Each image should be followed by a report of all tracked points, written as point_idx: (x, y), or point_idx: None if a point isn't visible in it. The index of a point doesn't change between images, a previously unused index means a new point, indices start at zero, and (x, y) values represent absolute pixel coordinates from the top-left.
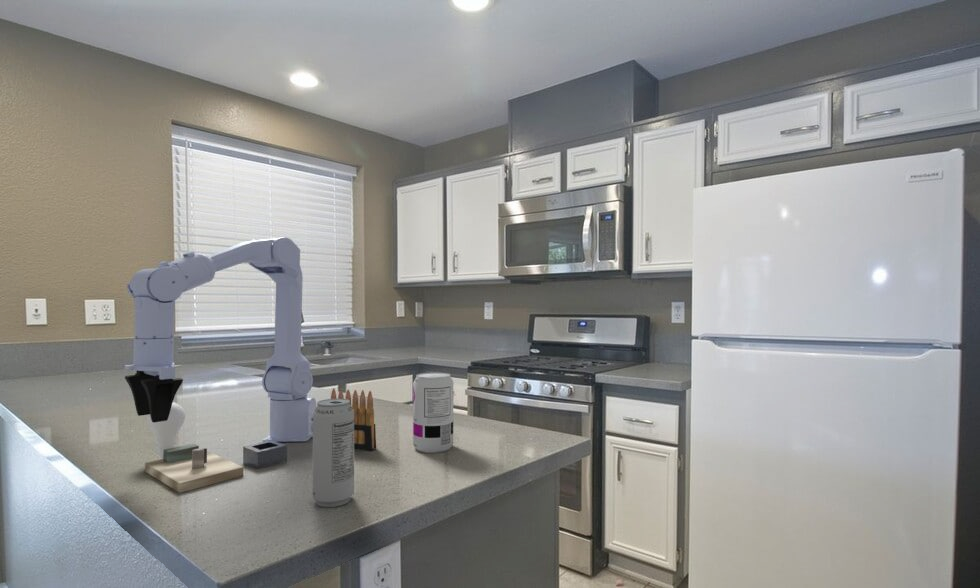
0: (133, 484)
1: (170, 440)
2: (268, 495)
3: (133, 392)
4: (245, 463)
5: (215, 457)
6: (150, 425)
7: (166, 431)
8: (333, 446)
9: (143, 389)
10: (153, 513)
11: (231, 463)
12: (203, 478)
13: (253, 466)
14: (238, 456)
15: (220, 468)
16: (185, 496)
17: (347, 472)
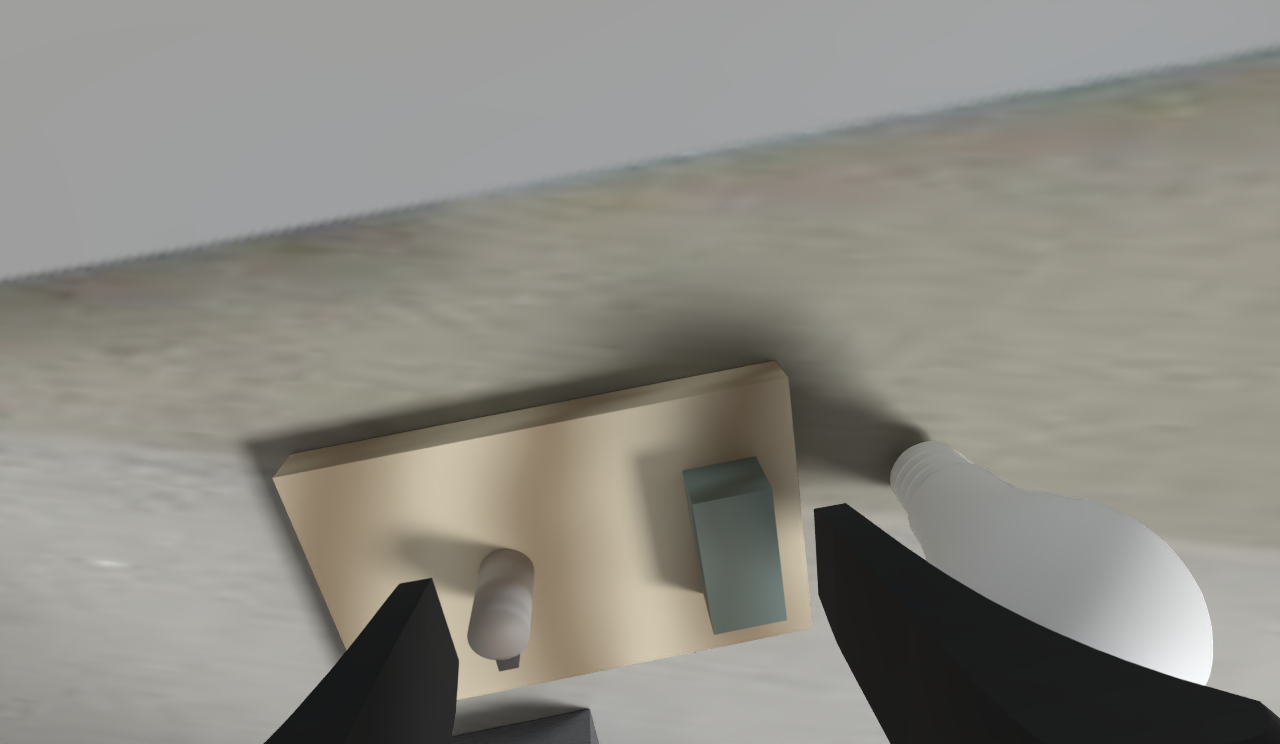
0: (577, 296)
1: (918, 539)
2: (47, 714)
3: (959, 632)
4: (565, 714)
5: (628, 648)
6: (1019, 509)
7: (931, 559)
8: None
9: (942, 742)
10: (36, 332)
11: (470, 687)
12: (316, 567)
13: (489, 731)
14: (708, 707)
15: None
16: (221, 468)
17: None
